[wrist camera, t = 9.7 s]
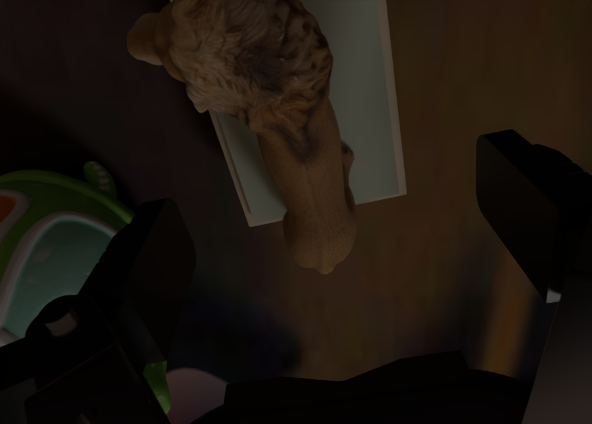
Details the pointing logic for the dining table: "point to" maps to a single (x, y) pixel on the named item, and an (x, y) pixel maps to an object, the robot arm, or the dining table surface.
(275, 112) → the lion figurine
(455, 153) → the dining table surface
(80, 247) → the turtle holder
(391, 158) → the plinth
